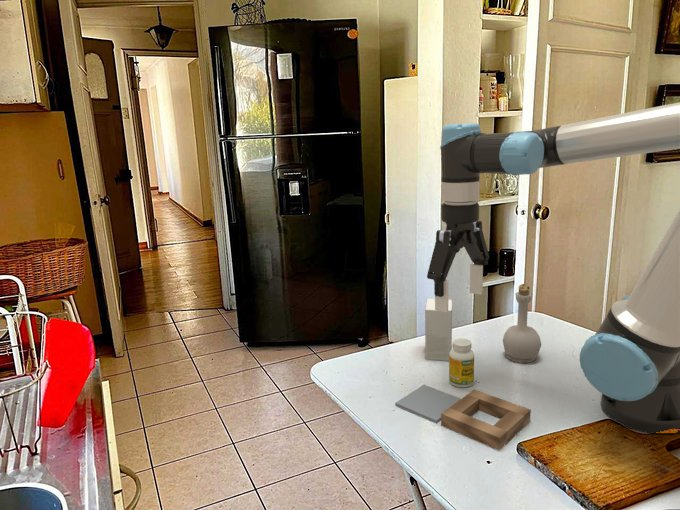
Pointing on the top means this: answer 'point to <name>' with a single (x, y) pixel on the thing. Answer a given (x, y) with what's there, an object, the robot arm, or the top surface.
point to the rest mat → (427, 402)
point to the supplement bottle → (461, 363)
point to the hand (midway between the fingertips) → (459, 301)
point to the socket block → (488, 434)
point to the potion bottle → (522, 332)
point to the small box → (438, 331)
